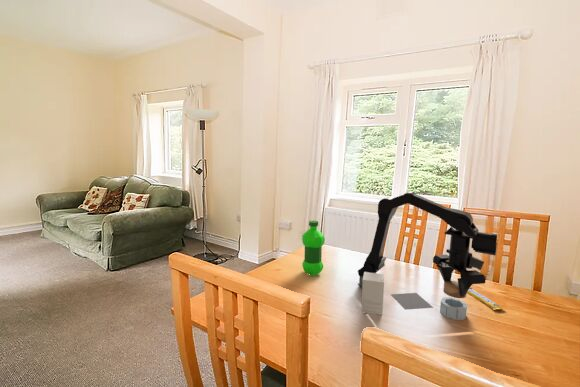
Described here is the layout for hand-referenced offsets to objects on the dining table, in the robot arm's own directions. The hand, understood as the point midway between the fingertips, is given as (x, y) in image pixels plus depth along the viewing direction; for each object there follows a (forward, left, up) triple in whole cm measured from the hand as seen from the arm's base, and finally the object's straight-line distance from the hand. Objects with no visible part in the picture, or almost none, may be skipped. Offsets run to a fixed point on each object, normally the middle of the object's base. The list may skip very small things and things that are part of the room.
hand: (454, 291), depth 100 cm
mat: (-10, +10, -9) cm, 17 cm away
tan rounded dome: (0, 0, -1) cm, 1 cm away
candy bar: (+19, +8, -10) cm, 23 cm away
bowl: (0, 0, -9) cm, 9 cm away
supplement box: (-27, +7, -9) cm, 29 cm away
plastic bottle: (-42, +40, -9) cm, 59 cm away
